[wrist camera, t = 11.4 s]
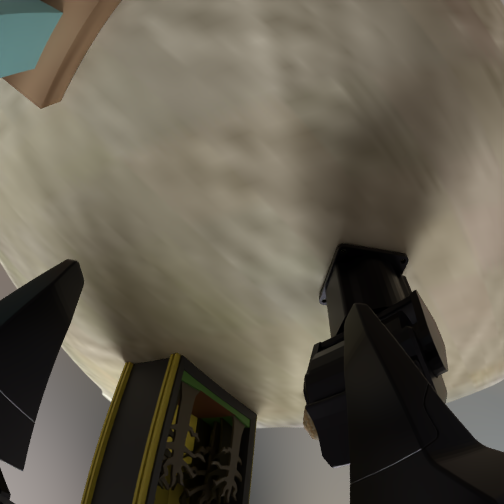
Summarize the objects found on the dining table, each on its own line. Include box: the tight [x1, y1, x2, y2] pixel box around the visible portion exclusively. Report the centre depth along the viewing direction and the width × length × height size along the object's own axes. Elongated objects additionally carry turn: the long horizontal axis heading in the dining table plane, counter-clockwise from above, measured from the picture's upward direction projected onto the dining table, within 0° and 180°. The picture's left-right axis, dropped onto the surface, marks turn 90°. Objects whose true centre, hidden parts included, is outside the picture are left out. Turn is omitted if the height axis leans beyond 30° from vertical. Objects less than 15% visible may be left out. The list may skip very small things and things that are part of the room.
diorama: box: [81, 353, 257, 504], centre depth 29 cm, size 21×11×30 cm, turn 29°
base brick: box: [2, 0, 121, 109], centre depth 12 cm, size 9×9×2 cm
